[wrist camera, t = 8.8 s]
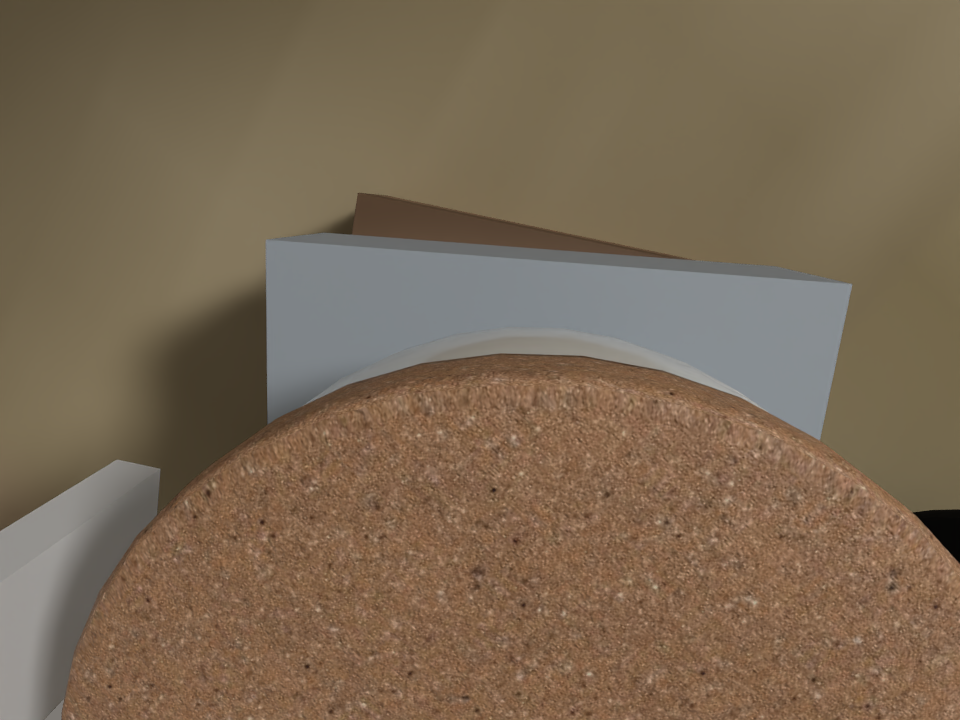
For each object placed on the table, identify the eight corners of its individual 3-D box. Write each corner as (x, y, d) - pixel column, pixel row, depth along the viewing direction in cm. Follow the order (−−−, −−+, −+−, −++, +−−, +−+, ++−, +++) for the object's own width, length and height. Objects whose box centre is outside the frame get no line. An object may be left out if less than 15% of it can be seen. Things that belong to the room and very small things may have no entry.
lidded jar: (508, 167, 13) (458, 65, 4) (877, 507, 14) (1566, 1096, 5) (204, 524, 15) (-291, 1012, 6) (540, 789, 16) (558, 1547, 7)
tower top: (324, 232, 17) (266, 239, 13) (775, 266, 17) (852, 284, 13) (319, 619, 20) (270, 718, 16) (705, 660, 19) (750, 773, 16)
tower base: (389, 195, 21) (357, 192, 17) (751, 271, 21) (803, 285, 17) (336, 521, 24) (299, 583, 20) (653, 591, 23) (678, 667, 20)
